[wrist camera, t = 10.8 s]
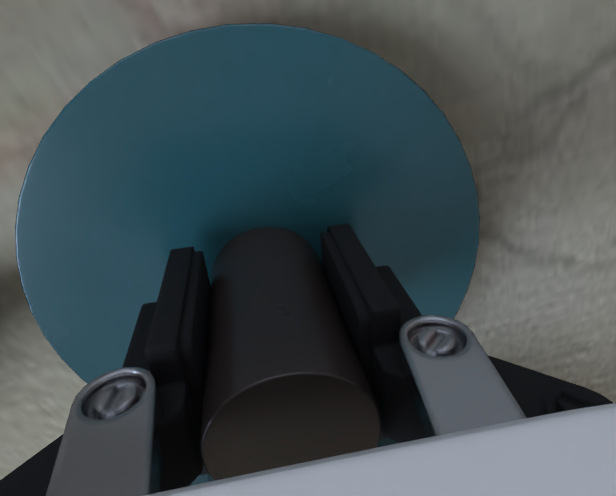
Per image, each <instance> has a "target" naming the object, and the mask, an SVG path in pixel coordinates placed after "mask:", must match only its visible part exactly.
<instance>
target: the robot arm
mask: <svg viewBox="0 0 616 496" xmlns="http://www.w3.org/2000/svg"><path fill="white" fill-rule="evenodd" d="M321 250H322V262H323V270H324V272H325V275H326V277H327V280H328V282H329V285H330V287H331V290H332V292H333V295H334V297H335V300H336V302H337V305H338V307H339V310H340V312H341V315H342V317H343V320H344V322H345V325H346V328H347V330H348V333H349V335H350V338H351V340H352V343H353V345H354V348H355V350H356V353H357V355H358V358H359V360H360V363H361V365H362V368H363V370H364V373H365V375H366V378H367V380H368V383H369V385H370V388H371V390H372V393H373V395H374V398H375V400H376V403H377V406H378V408H379V411H380V415H381V422H382V427H381V436H380V439H383V438H390V439H392V440H394V441H396V442H398V443H397V444H392V445H387V446H382V447H377V448H372V449H368V450H363V451H358V452H353V453H348V454H343V455H338V456H333V457H328V458H323V459H318V460H313V461H308V462H303V463H299V464H294V465H289V466H284V467H279V468H274V469H269V470H264V471H260V472H255V473H250V474H245V475H240V476H235V477H230V478H225V479H221V480H216V481H211V482H206V483H201V484H197V485H192V486H190V484H191V483H192V482H193V481H194V480H195V479H196V478H197V477H198V476H200V475H205V474H209V473H208V472H207V470H206V468H205V466H204V464H203V461H202V457H201V452H200V442H201V427H202V412H203V397H204V382H205V367H206V353H207V338H208V323H209V308H210V293H211V285H210V280H209V276H208V271H207V267H206V262H205V258H204V254H203V251H196V252H195V249H194V247H193V246H192V247H185V248H178V249H171V250H170V254H169V257H168V261H167V265H166V269H165V273H164V276H163V280H162V284H161V288H160V292H159V295H158V299H157V302H152V303H145V304H143V305H142V307H141V309H140V313H139V316H138V319H137V322H136V325H135V329H134V332H133V335H132V338H131V341H130V344H129V348H128V351H127V354H126V357H125V360H124V364H123V367H122V368H118V369H115V370H112V371H109V372H106V373H104V374H102V375H100V376H98V377H97V378H95V379H93V380H92V381H91V382H89V383H88V384H87V385H86V386H84V387H83V389H82V390H81V391H80V392H79V393H78V394H77V395H76V397H75V399H74V401H73V404H72V406H71V409H70V413H69V416H68V420H67V423H66V427H65V430H64V434H63V435H61V436H60V437H59V438H57V439H56V440H55V441H53V442H52V443H50V444H49V445H48V446H46V447H45V448H44V449H42V450H41V451H40V452H38V453H37V454H36V455H34V456H33V457H31V458H30V459H29V460H27V461H26V462H25V463H23V464H22V465H21V466H19V467H18V468H16V469H15V470H14V471H12V472H11V473H10V474H8V475H7V476H6V477H4V478H3V479H2V480H0V496H616V403H613V402H612V401H610V400H608V399H607V398H605V397H604V396H602V395H601V394H599V393H597V392H594V391H592V390H589V389H587V388H585V387H582V386H579V385H576V384H572V383H569V382H566V381H563V380H560V379H557V378H554V377H551V376H548V375H545V374H542V373H539V372H536V371H533V370H530V369H527V368H524V367H521V366H518V365H515V364H512V363H509V362H506V361H503V360H500V359H497V358H494V357H491V356H488V355H487V354H486V353H485V351H484V349H483V348H482V346H481V345H480V343H479V342H478V340H477V338H476V337H475V335H474V334H473V332H472V331H471V330H470V329H469V328H468V327H467V326H466V325H464V324H463V323H461V322H460V321H458V320H455V319H452V318H450V317H446V316H440V315H423V316H422V314H421V313H420V311H419V310H418V308H417V307H416V305H415V304H414V302H413V301H412V299H411V298H410V296H409V295H408V293H407V292H406V291H405V289H404V288H403V286H402V285H401V283H400V282H399V280H398V279H397V277H396V276H395V274H394V273H393V271H392V270H391V268H390V267H389V266H387V265H384V266H378V267H375V265H374V263H373V262H372V260H371V259H370V257H369V255H368V254H367V252H366V250H365V249H364V247H363V246H362V244H361V242H360V241H359V239H358V238H357V236H356V234H355V233H354V231H353V229H352V228H351V226H350V225H349V224H341V225H334V226H328V228H327V232H324V233H321Z"/></svg>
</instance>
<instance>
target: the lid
mask: <svg viewBox="0 0 616 496" xmlns="http://www.w3.org/2000/svg"><path fill="white" fill-rule="evenodd" d="M479 222H480V216H479V206H478V197H477V190H476V186H475V182H474V178H473V174H472V170H471V166H470V163H469V161H468V159H467V156H466V154H465V151H464V149H463V147H462V144H461V142H460V139H459V138H458V136H457V134H456V133H455V131H454V130H453V128H452V126H451V125H450V123H449V121H448V120H447V118H446V116H445V115H444V113H443V112H442V111H441V110H440V109H439V108H438V106H437V105H436V104H435V103H434V102H433V100H432V99H431V98H430V97H429V96H428V94H427V93H426V92H425V91H424V90H423V89H422V88H421V87H419V86H418V85H417V84H416V83H415V82H414V81H413V80H411V79H410V78H409V77H408V76H407V75H406V74H405V73H404V72H402V71H401V70H400V69H398V68H397V67H395V66H394V65H392V64H391V63H389V62H387V61H386V60H384V59H383V58H381V57H380V56H378V55H376V54H375V53H373V52H371V51H369V50H367V49H365V48H363V47H360V46H358V45H356V44H354V43H351V42H349V41H347V40H345V39H342V38H340V37H336V36H333V35H329V34H326V33H322V32H318V31H315V30H311V29H308V28H303V27H295V26H287V25H279V24H271V23H252V24H227V25H221V26H215V27H209V28H203V29H197V30H191V31H188V32H185V33H182V34H179V35H176V36H173V37H170V38H167V39H164V40H161V41H158V42H155V43H153V44H151V45H149V46H147V47H145V48H143V49H141V50H139V51H137V52H135V53H133V54H131V55H129V56H127V57H125V58H123V59H121V60H120V61H118V62H117V63H115V64H114V65H113V66H111V67H110V68H108V69H107V70H106V71H104V72H103V73H101V74H100V75H99V76H97V77H96V78H94V79H93V80H92V81H90V82H89V83H88V84H87V85H86V86H85V87H84V88H83V89H82V90H81V91H80V92H79V93H78V94H77V95H76V96H75V97H74V98H73V99H72V100H71V101H70V102H69V103H68V104H67V105H66V106H65V107H64V108H63V110H62V111H61V112H60V114H59V115H58V116H57V118H56V119H55V121H54V122H53V123H52V125H51V126H50V127H49V129H48V130H47V132H46V133H45V134H44V136H43V138H42V140H41V142H40V144H39V146H38V148H37V150H36V152H35V154H34V156H33V158H32V160H31V162H30V164H29V166H28V169H27V173H26V176H25V179H24V182H23V186H22V189H21V192H20V195H19V202H18V209H17V217H16V225H15V236H16V259H17V264H18V269H19V274H20V279H21V284H22V288H23V290H24V293H25V296H26V298H27V301H28V304H29V306H30V309H31V312H32V314H33V316H34V318H35V320H36V321H37V323H38V325H39V327H40V329H41V330H42V332H43V334H44V336H45V337H46V339H47V340H48V341H49V343H50V344H51V345H52V347H53V348H54V349H55V351H56V352H57V353H58V355H59V356H60V357H61V359H62V360H63V361H64V362H65V363H66V364H67V365H68V366H69V367H70V368H71V369H72V370H73V371H74V372H75V373H76V374H77V375H78V376H79V377H80V378H81V379H83V380H84V381H85V382H86V383H89V382H91V381H92V380H93V379H95V378H97V377H98V376H100V375H102V374H104V373H106V372H109V371H112V370H115V369H118V368H122V367H123V364H124V360H125V357H126V354H127V351H128V348H129V344H130V341H131V338H132V335H133V332H134V329H135V325H136V322H137V319H138V316H139V313H140V309H141V307H142V305H143V304H145V303H152V302H157V299H158V295H159V292H160V288H161V284H162V280H163V276H164V273H165V269H166V265H167V261H168V257H169V254H170V250H171V249H178V248H185V247H192V246H193V247H194V249H195V252H196V251H203V254H204V258H205V262H206V267H207V271H208V276H209V280H210V285H211V293H210V308H209V323H208V338H207V353H206V367H205V382H204V397H203V412H202V427H201V442H200V452H201V457H202V461H203V464H204V466H205V468H206V470H207V472H208V473H209V475H210V476H211V477H212V479H213V480H214V481H216V480H221V479H225V478H230V477H235V476H240V475H245V474H250V473H255V472H260V471H264V470H269V469H274V468H279V467H284V466H289V465H294V464H299V463H303V462H308V461H313V460H318V459H323V458H328V457H333V456H338V455H343V454H348V453H353V452H358V451H363V450H368V449H372V448H377V445H378V443H379V440H380V436H381V427H382V422H381V415H380V411H379V408H378V406H377V403H376V400H375V398H374V395H373V393H372V390H371V388H370V385H369V383H368V380H367V378H366V375H365V373H364V370H363V368H362V365H361V363H360V360H359V358H358V355H357V353H356V350H355V348H354V345H353V343H352V340H351V338H350V335H349V333H348V330H347V328H346V325H345V322H344V320H343V317H342V315H341V312H340V310H339V307H338V305H337V302H336V300H335V297H334V295H333V292H332V290H331V287H330V285H329V282H328V280H327V277H326V275H325V272H324V270H323V262H322V250H321V233H324V232H327V228H328V226H334V225H341V224H349V225H350V226H351V228H352V229H353V231H354V233H355V234H356V236H357V238H358V239H359V241H360V242H361V244H362V246H363V247H364V249H365V250H366V252H367V254H368V255H369V257H370V259H371V260H372V262H373V263H374V265H375V267H378V266H384V265H387V266H389V267H390V268H391V270H392V271H393V273H394V274H395V276H396V277H397V279H398V280H399V282H400V283H401V285H402V286H403V288H404V289H405V291H406V292H407V293H408V295H409V296H410V298H411V299H412V301H413V302H414V304H415V305H416V307H417V308H418V310H419V311H420V313H421V314H422V316H423V315H440V316H446V317H450V318H452V319H454V317H455V315H456V314H457V312H458V310H459V308H460V305H461V303H462V301H463V299H464V296H465V294H466V292H467V290H468V286H469V283H470V280H471V277H472V274H473V270H474V267H475V261H476V256H477V250H478V244H479Z"/></svg>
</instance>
